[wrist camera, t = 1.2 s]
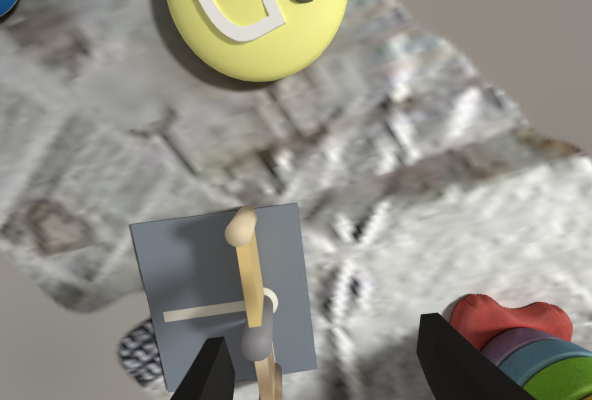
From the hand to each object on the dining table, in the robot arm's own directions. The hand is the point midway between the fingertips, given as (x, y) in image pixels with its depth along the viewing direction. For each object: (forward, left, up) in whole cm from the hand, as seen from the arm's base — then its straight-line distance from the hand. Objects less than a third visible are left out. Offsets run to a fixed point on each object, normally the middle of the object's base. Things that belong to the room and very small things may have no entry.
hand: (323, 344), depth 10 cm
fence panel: (-1, +4, -12) cm, 13 cm away
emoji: (+18, +1, -13) cm, 22 cm away
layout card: (-4, +6, -13) cm, 15 cm away
